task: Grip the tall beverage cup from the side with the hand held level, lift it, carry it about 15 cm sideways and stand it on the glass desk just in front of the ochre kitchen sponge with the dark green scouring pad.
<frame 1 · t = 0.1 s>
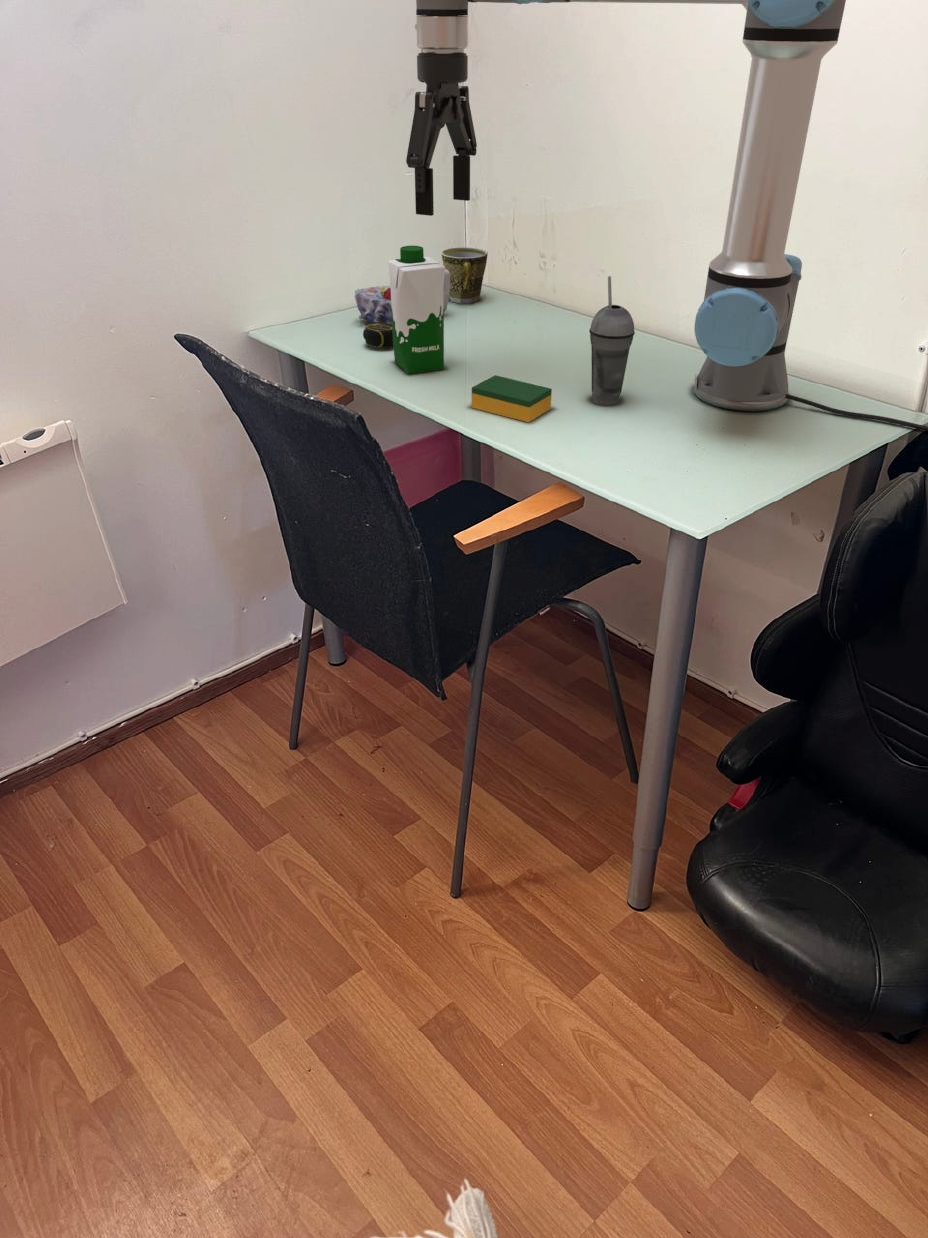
hand: (443, 207, 146), 28 cm above the table, tool pointing down, fingers open, 13 cm apart
sponge: (511, 408, 150), on the table
milk carton: (419, 366, 167), on the table
tape measure: (382, 345, 177), on the table
beverage cup: (605, 401, 153), on the table
cell model: (403, 320, 191), on the table
ceramic cup: (465, 302, 202), on the table
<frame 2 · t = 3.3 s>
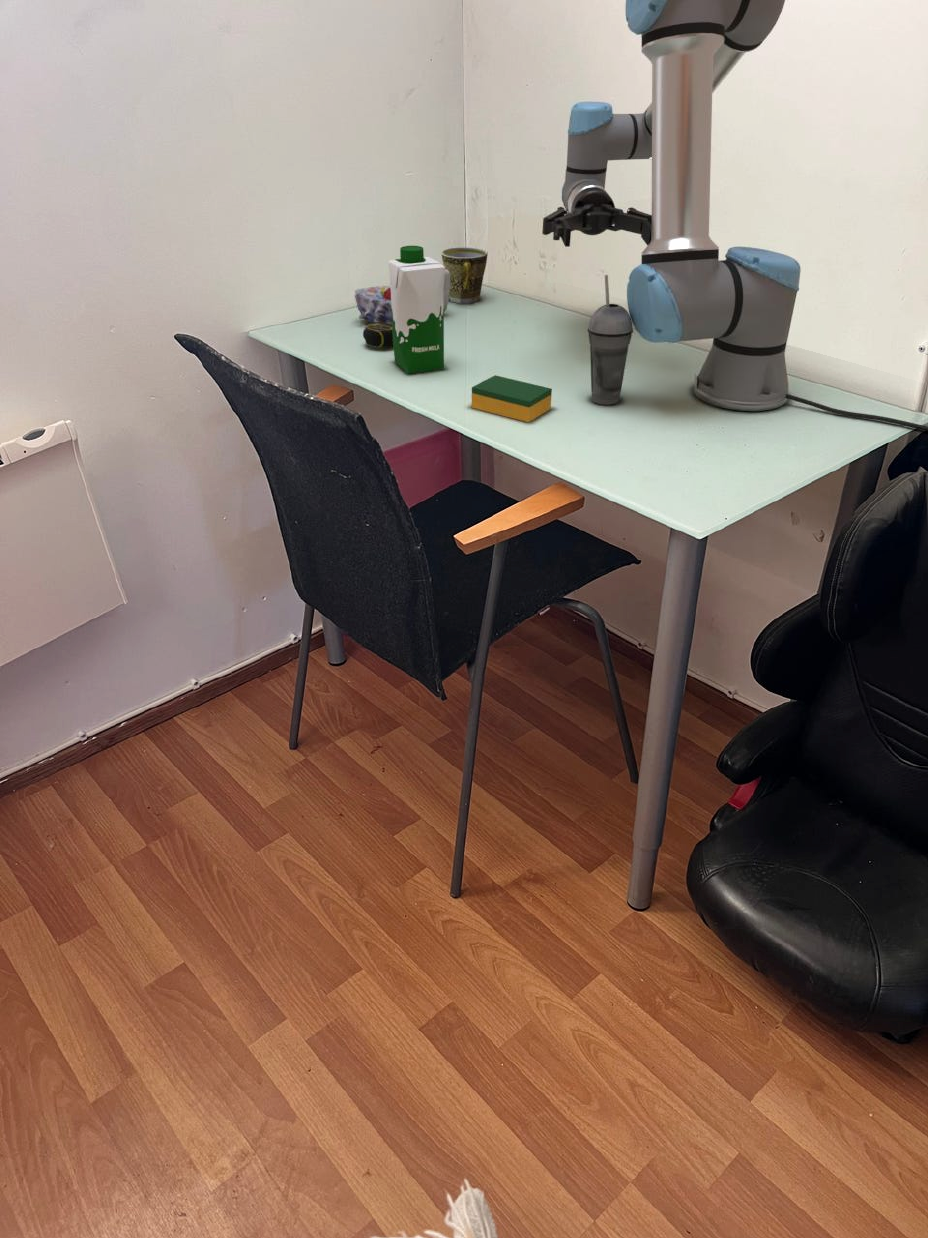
hand: (610, 237, 148), 24 cm above the table, tool horizontal, fingers open, 13 cm apart
nothing on the table moved.
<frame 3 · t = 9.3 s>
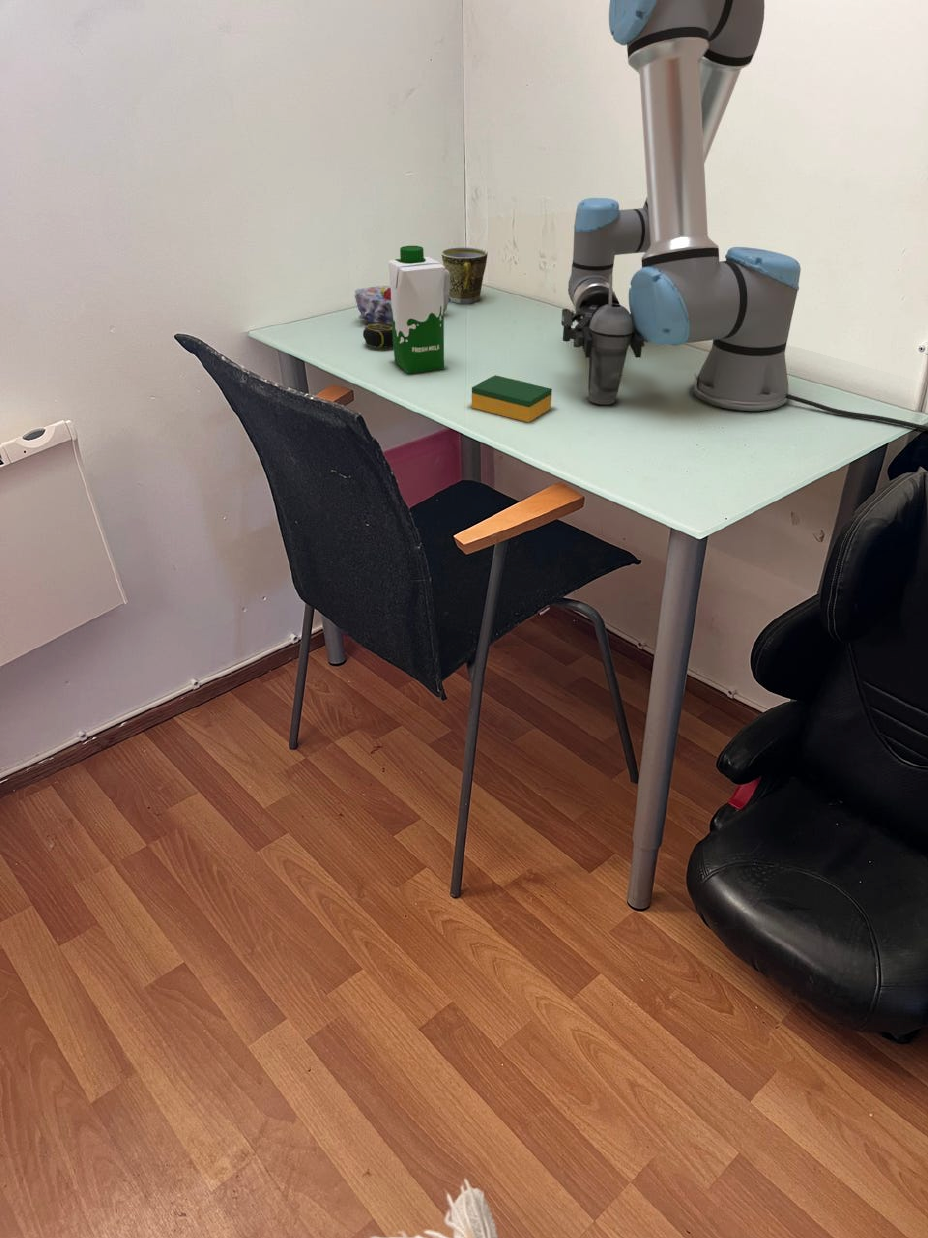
hand: (613, 348, 144), 10 cm above the table, tool horizontal, fingers closed on beverage cup, 7 cm apart
beverage cup: (601, 400, 153), on the table, touching arm, gripper
everything else where it was.
when the fingers open (10 cm above the table, at t = 15.7 s): beverage cup stays where it is, on the table.
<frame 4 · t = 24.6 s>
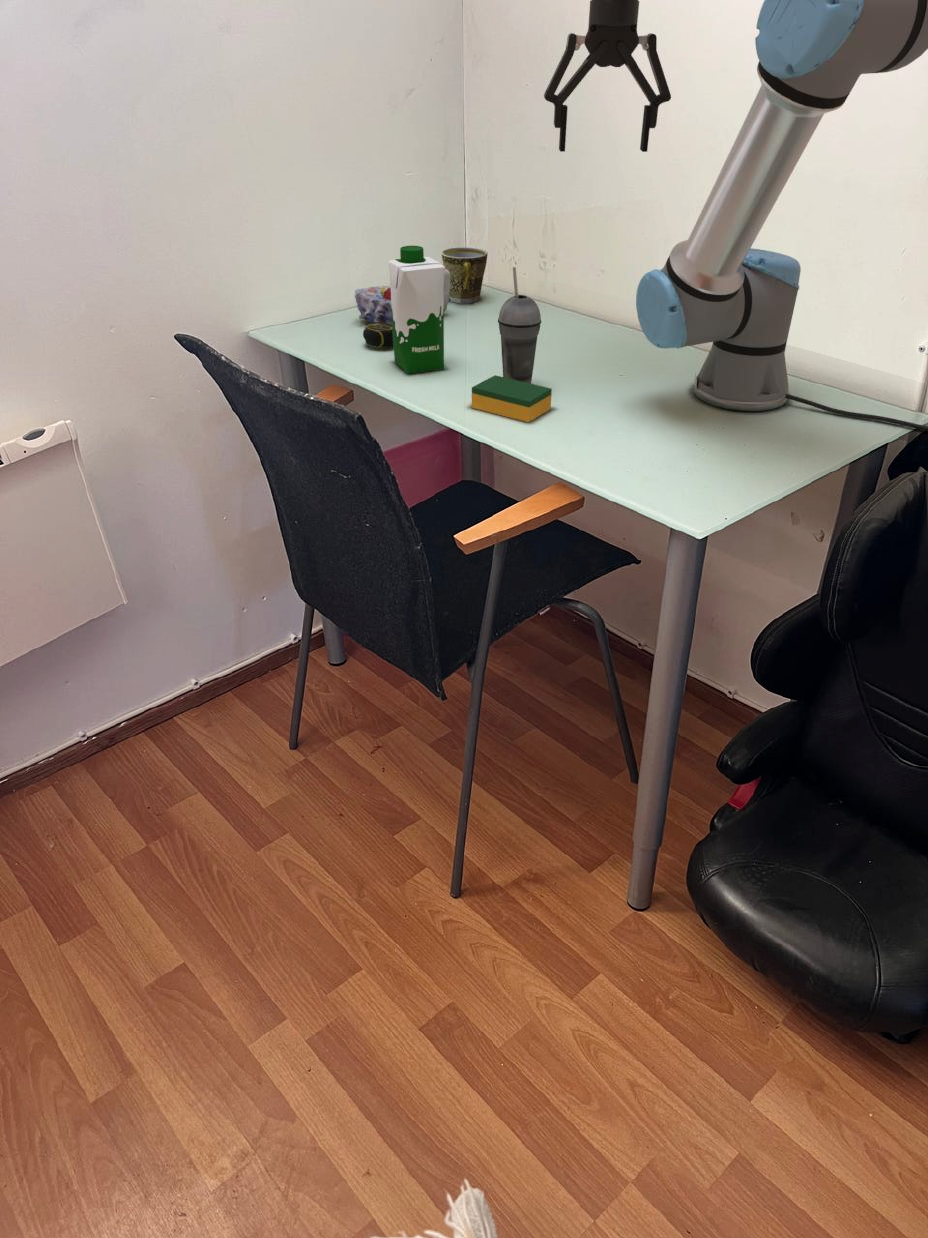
hand: (602, 150, 152), 35 cm above the table, tool pointing down, fingers open, 13 cm apart
beverage cup: (517, 389, 158), on the table
everything else where it was.
at the end: beverage cup 9.3 cm from the sponge (horizontally); beverage cup tilted 0°; beverage cup on the table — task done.
